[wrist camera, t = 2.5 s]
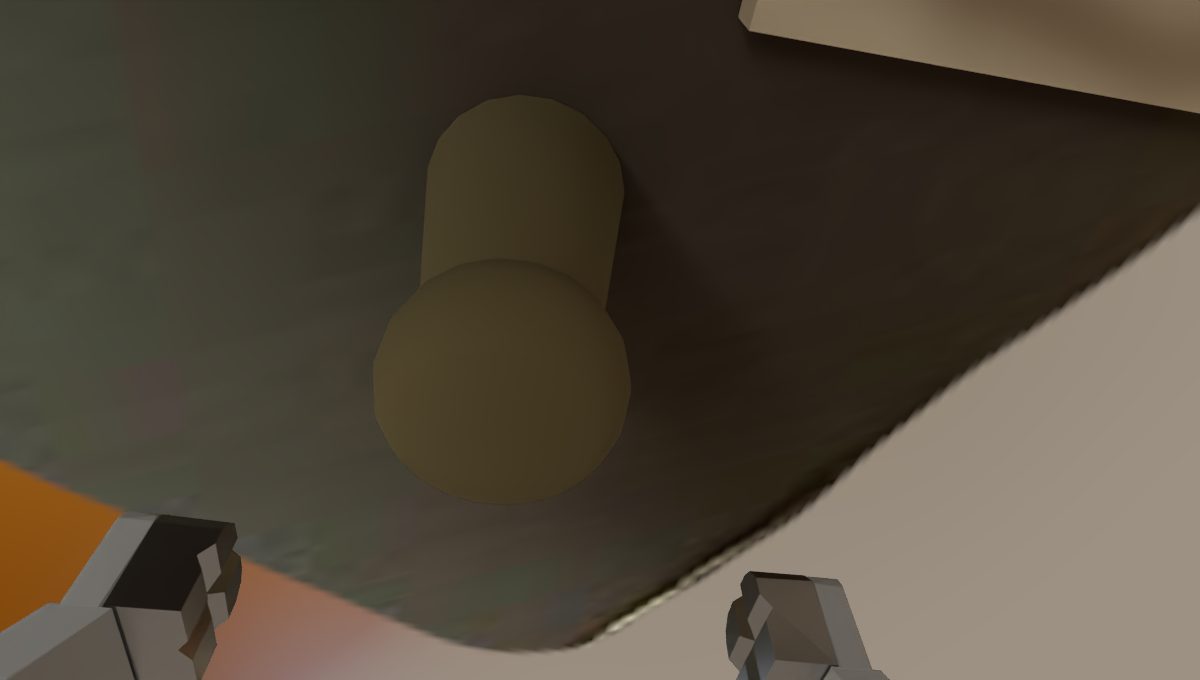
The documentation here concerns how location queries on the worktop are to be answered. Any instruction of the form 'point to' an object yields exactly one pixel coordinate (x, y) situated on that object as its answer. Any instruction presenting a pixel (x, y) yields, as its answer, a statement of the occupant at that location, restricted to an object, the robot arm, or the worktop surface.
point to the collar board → (1015, 39)
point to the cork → (510, 310)
